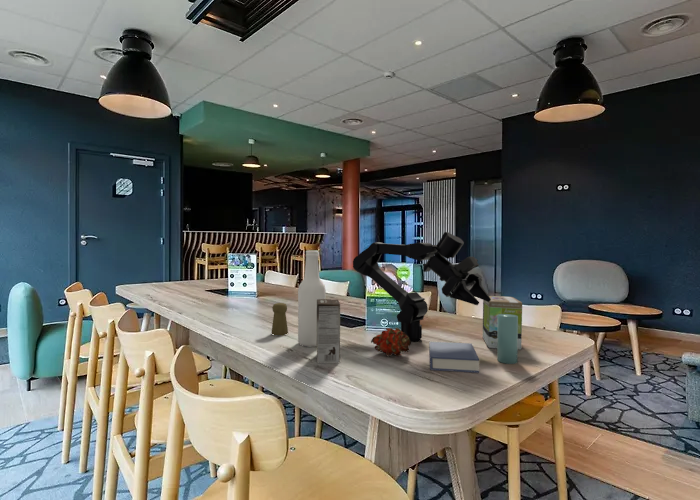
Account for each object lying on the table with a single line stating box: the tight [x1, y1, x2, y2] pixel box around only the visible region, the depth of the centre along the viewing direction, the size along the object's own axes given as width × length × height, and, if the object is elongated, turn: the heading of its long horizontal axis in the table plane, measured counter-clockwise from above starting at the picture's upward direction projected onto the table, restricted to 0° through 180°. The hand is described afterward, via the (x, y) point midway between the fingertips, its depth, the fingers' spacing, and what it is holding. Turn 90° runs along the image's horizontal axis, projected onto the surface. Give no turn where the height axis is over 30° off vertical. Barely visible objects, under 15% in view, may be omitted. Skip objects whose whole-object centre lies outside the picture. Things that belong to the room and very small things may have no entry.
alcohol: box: [297, 249, 327, 347], centre depth 127 cm, size 9×9×30 cm
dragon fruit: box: [370, 327, 412, 357], centre depth 115 cm, size 8×8×12 cm
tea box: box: [482, 295, 523, 351], centre depth 128 cm, size 15×10×15 cm
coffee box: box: [316, 298, 341, 364], centre depth 111 cm, size 9×6×16 cm
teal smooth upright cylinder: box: [496, 314, 519, 365], centre depth 109 cm, size 5×5×12 cm
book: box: [428, 341, 480, 374], centre depth 108 cm, size 12×16×3 cm
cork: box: [271, 302, 289, 335], centre depth 141 cm, size 6×6×11 cm
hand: (484, 302), depth 117 cm, fingers open, 9 cm apart
